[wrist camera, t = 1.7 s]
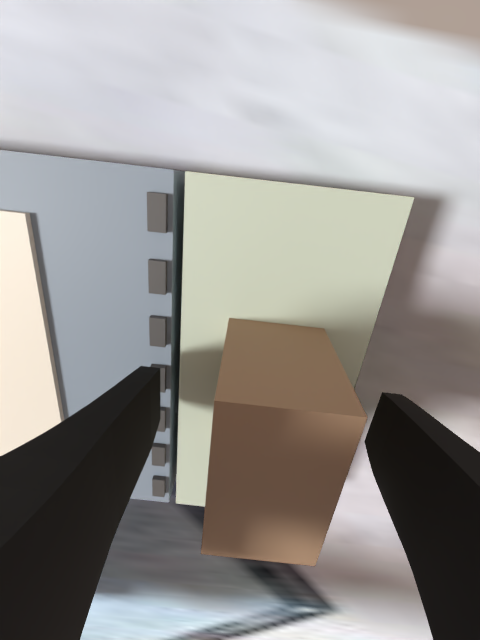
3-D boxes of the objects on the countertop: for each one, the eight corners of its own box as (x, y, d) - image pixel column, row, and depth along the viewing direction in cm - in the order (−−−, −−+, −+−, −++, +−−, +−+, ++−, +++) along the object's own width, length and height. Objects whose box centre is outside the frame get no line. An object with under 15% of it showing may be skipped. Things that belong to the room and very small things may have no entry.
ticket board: (179, 463, 15) (167, 506, 13) (-25, 442, 15) (-67, 482, 13) (188, 171, 10) (172, 169, 8) (-127, 136, 10) (-226, 123, 8)
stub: (306, 481, 15) (336, 644, 10) (184, 468, 15) (146, 624, 10) (386, 195, 10) (550, 209, 4) (196, 173, 10) (127, 161, 4)
